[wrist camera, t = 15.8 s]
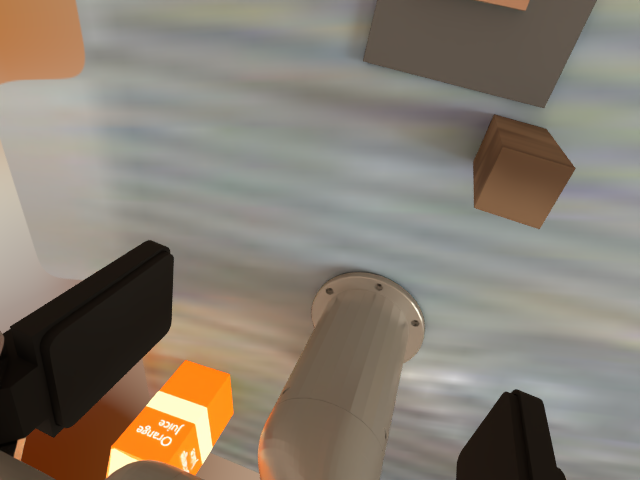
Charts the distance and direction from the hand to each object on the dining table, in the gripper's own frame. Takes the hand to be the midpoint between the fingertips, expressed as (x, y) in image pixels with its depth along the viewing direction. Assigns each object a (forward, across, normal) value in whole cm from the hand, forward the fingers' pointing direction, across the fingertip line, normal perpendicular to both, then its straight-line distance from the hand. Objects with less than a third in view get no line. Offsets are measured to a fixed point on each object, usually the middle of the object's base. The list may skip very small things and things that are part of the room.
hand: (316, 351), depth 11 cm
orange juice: (+28, +17, +45) cm, 56 cm away
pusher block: (+27, -7, -2) cm, 28 cm away
